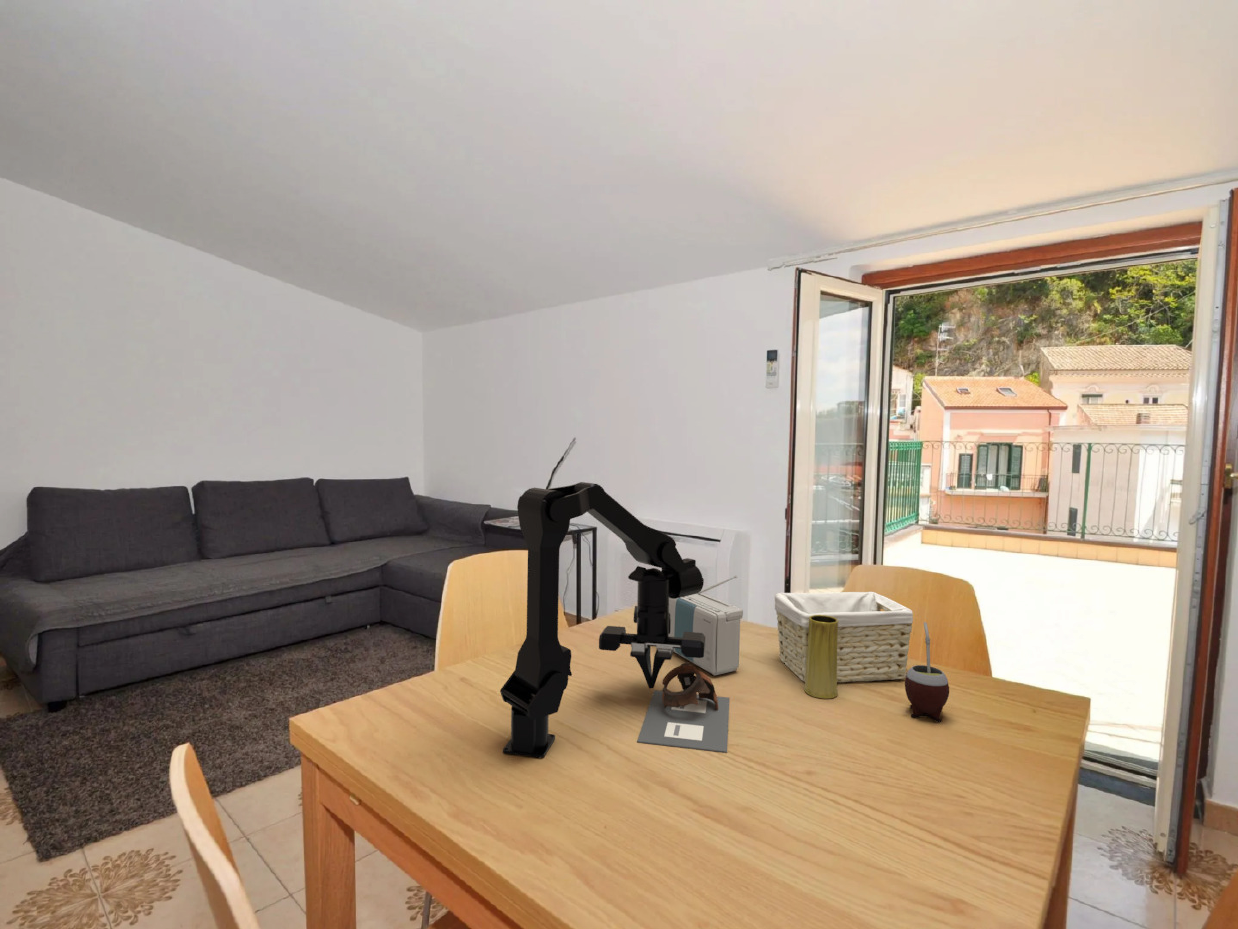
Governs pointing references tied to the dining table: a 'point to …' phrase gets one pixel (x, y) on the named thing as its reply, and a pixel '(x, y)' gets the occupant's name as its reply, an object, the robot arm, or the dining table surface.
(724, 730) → the label mat
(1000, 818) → the dining table surface
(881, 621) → the storage basket
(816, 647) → the vase
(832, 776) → the dining table surface
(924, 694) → the mate gourd
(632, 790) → the dining table surface
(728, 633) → the stereo radio cassette player
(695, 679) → the brown curved piece
